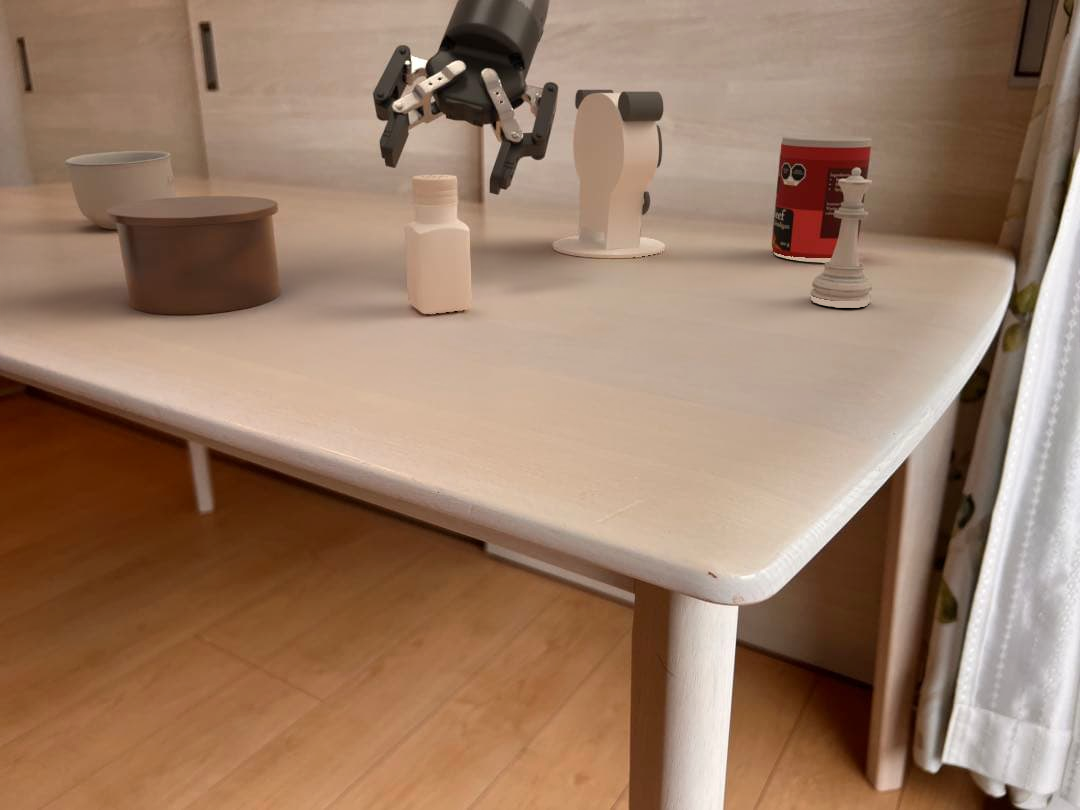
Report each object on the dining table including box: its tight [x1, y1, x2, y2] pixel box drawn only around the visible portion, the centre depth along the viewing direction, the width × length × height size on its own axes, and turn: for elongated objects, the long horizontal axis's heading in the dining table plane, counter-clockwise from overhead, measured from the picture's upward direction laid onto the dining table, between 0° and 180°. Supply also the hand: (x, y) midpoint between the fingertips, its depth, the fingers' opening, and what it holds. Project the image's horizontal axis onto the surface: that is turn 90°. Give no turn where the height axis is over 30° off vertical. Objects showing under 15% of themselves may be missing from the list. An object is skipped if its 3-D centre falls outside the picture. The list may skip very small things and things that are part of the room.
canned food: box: [771, 134, 872, 258], centre depth 81 cm, size 8×8×11 cm
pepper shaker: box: [403, 174, 472, 315], centre depth 62 cm, size 4×4×10 cm
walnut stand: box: [107, 195, 281, 316], centre depth 66 cm, size 12×12×7 cm
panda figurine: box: [552, 89, 666, 259], centre depth 84 cm, size 12×11×15 cm
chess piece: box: [810, 168, 873, 301], centre depth 64 cm, size 4×4×10 cm
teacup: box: [64, 150, 176, 231], centre depth 99 cm, size 14×11×8 cm
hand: (441, 174), depth 67 cm, fingers open, 8 cm apart
